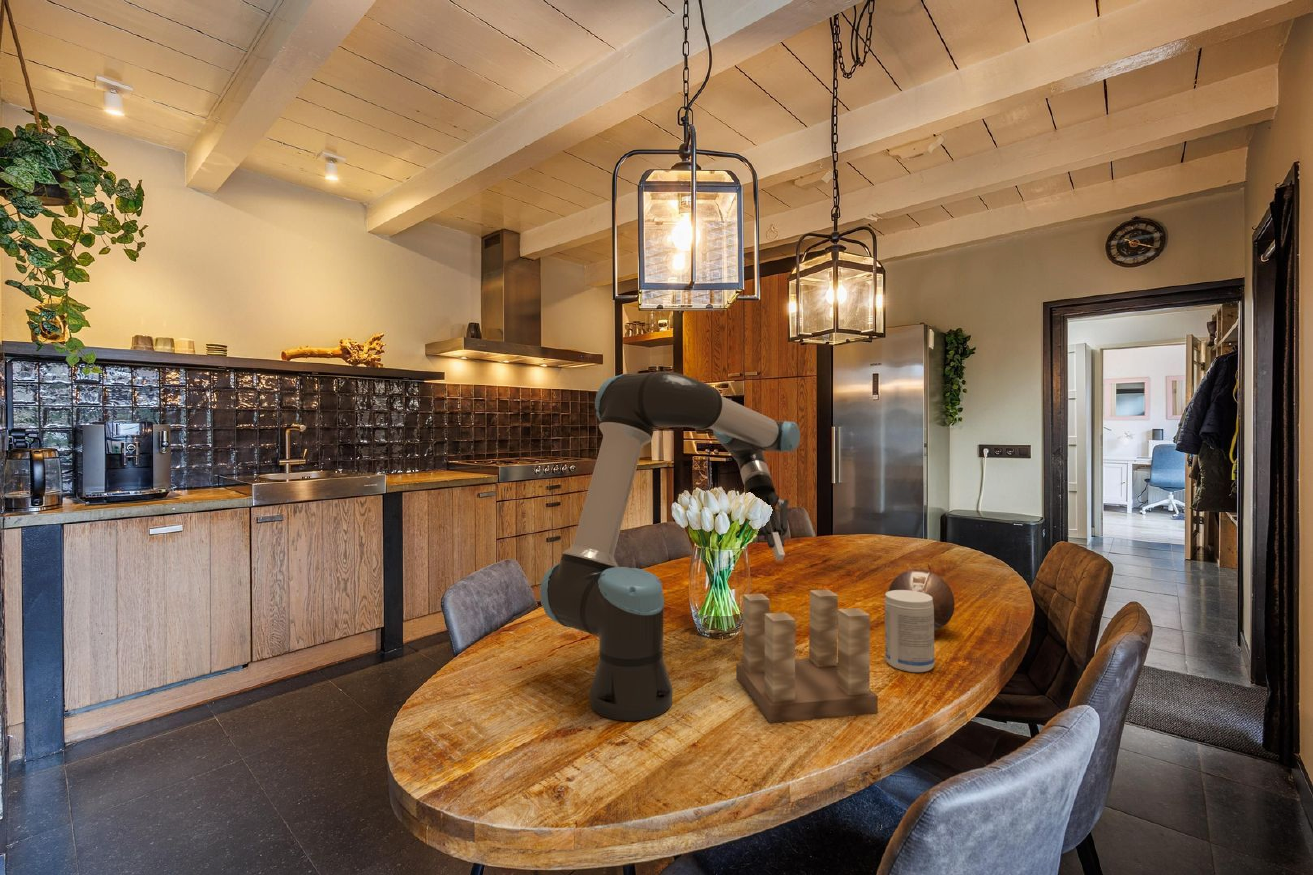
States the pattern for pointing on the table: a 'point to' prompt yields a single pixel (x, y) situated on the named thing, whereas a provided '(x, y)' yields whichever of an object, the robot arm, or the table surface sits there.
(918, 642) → the supplement tub
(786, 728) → the table surface
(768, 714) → the stool seat
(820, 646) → the hinged leg
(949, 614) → the brown metallic ball
